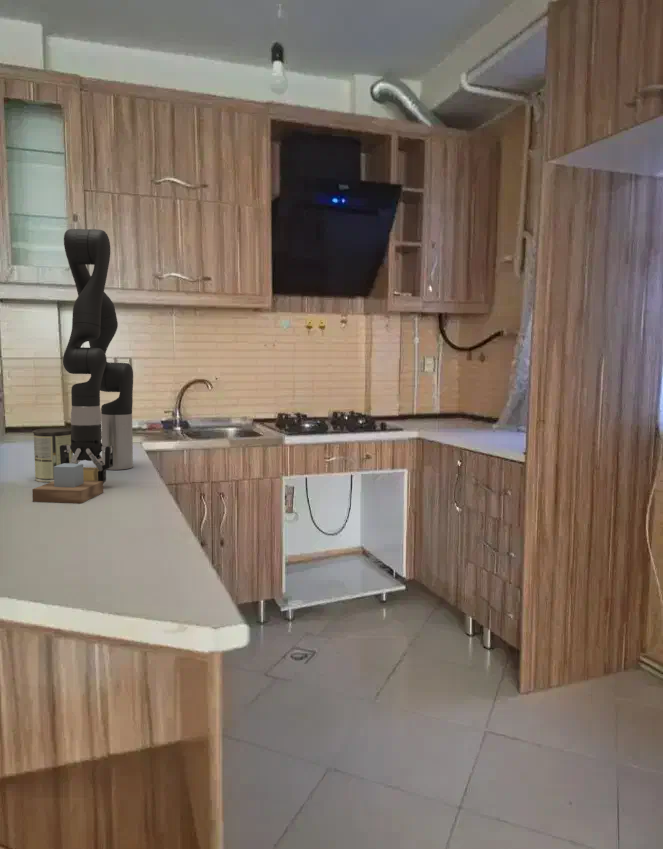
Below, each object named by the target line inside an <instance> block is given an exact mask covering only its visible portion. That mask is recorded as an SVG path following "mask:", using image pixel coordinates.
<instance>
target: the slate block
mask: <svg viewBox="0 0 663 849" xmlns="http://www.w3.org/2000/svg"><path fill="white" fill-rule="evenodd" d="M83 467H84V463H78V464H71V463H63V464H60V465H57V466H54V487H76V486H79V485H81V484H83V483H84V479H83Z"/></svg>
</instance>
